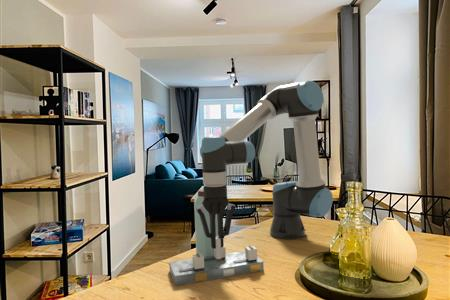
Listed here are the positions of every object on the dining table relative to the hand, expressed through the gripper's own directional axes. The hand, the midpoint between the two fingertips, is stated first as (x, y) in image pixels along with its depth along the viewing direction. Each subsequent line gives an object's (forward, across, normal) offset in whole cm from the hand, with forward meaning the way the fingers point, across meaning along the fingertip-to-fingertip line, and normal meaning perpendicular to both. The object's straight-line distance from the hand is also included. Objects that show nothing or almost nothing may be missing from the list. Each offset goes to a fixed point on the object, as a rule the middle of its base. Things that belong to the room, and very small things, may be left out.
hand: (217, 257), depth 109 cm
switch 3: (+2, -12, 0) cm, 12 cm away
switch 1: (+2, +6, 0) cm, 7 cm away
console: (+6, 0, -3) cm, 6 cm away
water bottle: (+6, -1, -16) cm, 17 cm away
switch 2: (+2, -2, -6) cm, 7 cm away
